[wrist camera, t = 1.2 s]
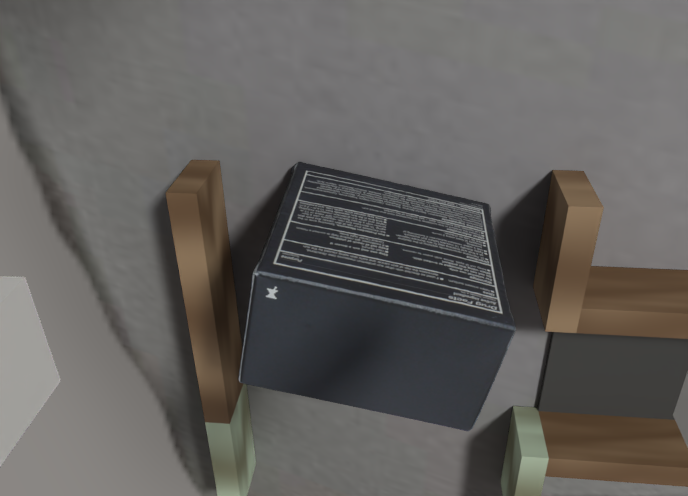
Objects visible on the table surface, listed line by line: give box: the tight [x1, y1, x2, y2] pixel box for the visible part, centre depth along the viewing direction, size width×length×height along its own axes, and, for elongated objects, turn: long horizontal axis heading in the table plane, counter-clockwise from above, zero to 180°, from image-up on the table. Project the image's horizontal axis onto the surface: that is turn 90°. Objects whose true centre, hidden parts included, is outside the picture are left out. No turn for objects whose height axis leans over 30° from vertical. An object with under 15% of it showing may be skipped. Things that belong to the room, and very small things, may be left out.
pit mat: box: [538, 332, 688, 420], centre depth 37 cm, size 9×12×1 cm
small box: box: [238, 162, 516, 431], centre depth 30 cm, size 11×6×10 cm, turn 79°
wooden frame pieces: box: [166, 160, 688, 496], centre depth 36 cm, size 23×34×4 cm
